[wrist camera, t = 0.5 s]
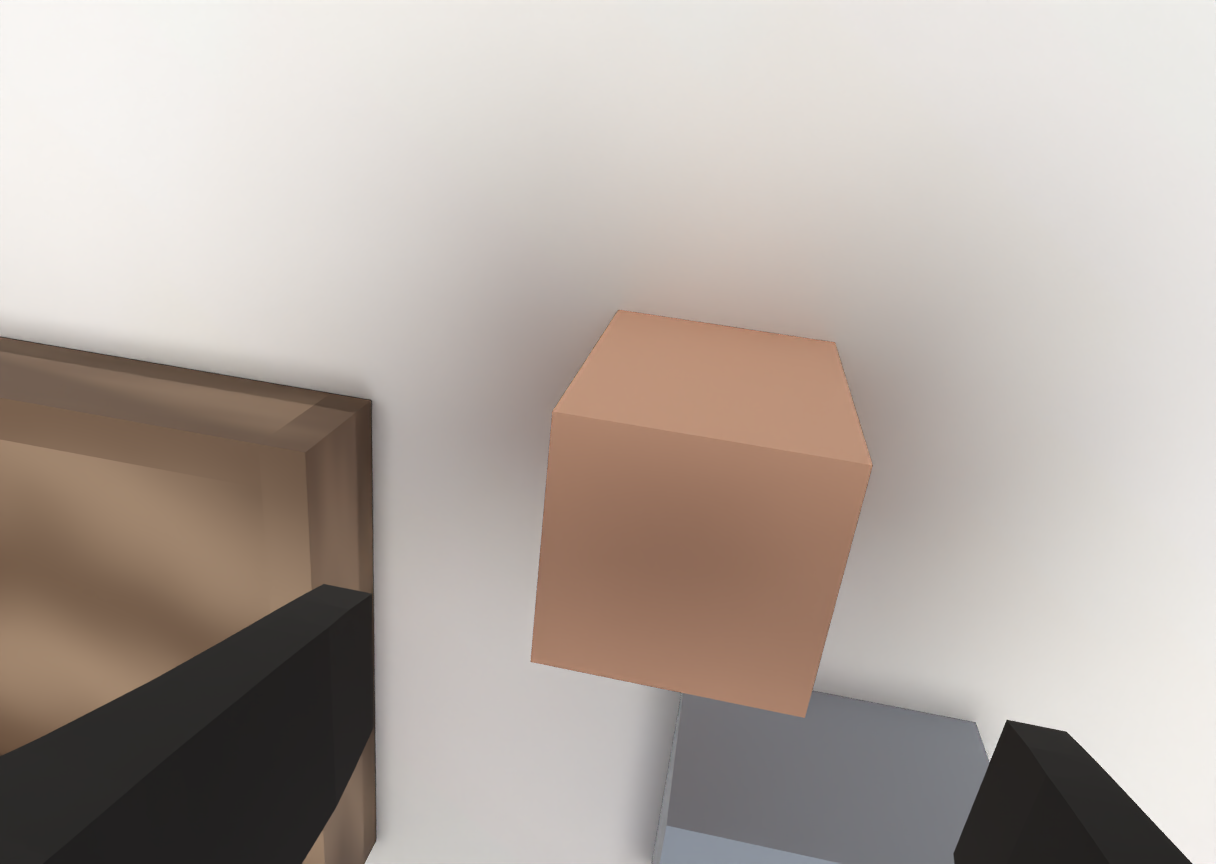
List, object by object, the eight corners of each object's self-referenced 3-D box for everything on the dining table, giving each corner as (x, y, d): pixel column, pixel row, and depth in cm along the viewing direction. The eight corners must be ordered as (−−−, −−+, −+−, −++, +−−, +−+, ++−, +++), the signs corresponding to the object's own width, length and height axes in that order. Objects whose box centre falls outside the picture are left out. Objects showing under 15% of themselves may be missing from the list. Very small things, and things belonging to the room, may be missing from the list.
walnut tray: (375, 840, 25) (328, 934, 22) (-48, 741, 26) (-141, 816, 23) (371, 400, 19) (304, 452, 16) (-172, 307, 20) (-317, 341, 18)
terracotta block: (790, 531, 18) (805, 717, 13) (596, 496, 19) (530, 662, 13) (834, 342, 16) (873, 464, 11) (618, 309, 17) (552, 410, 12)
